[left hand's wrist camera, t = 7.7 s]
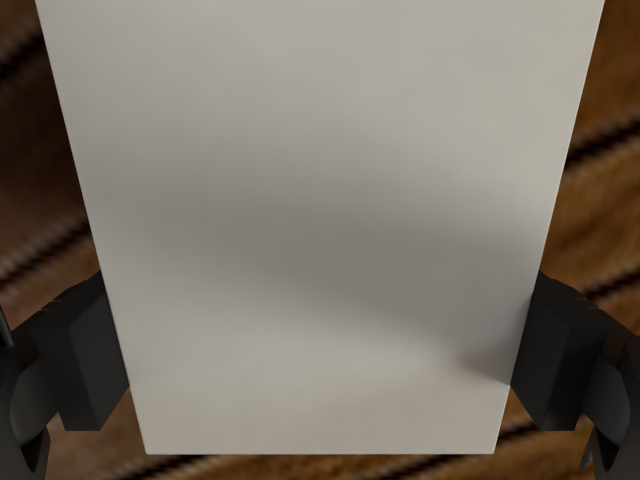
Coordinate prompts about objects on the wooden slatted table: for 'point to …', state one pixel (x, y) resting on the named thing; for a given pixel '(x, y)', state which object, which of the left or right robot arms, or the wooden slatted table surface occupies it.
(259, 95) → the cabinet
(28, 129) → the wooden slatted table surface
